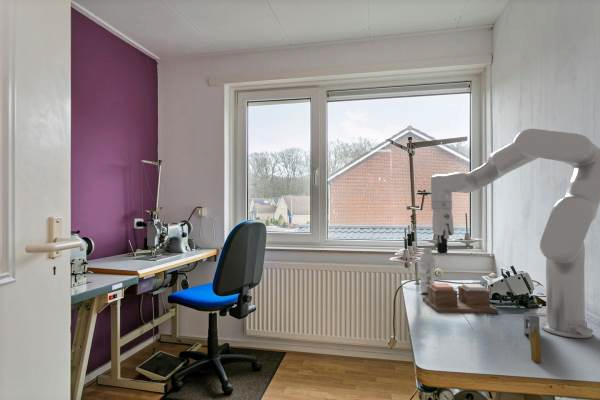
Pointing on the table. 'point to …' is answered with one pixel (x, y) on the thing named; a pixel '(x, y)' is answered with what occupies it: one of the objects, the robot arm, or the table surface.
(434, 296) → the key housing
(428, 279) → the plastic bottle
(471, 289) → the white square block
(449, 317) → the table surface
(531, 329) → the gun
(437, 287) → the terracotta key
